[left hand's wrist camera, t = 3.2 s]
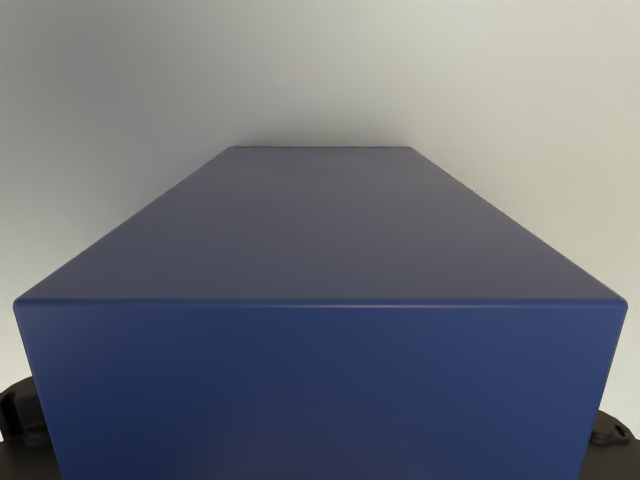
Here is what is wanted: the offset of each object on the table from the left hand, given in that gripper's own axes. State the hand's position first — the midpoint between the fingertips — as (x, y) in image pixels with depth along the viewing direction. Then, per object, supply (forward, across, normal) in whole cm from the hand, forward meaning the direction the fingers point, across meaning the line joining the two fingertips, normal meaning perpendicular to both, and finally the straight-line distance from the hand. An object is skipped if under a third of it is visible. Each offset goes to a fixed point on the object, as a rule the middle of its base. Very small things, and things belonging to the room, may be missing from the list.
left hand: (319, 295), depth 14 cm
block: (+3, 0, 0) cm, 3 cm away
